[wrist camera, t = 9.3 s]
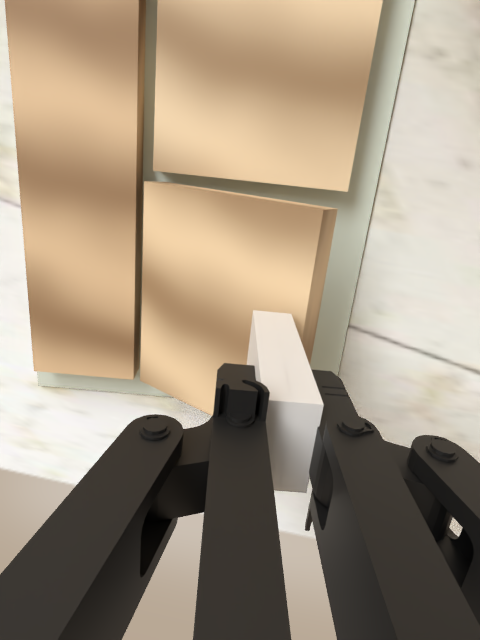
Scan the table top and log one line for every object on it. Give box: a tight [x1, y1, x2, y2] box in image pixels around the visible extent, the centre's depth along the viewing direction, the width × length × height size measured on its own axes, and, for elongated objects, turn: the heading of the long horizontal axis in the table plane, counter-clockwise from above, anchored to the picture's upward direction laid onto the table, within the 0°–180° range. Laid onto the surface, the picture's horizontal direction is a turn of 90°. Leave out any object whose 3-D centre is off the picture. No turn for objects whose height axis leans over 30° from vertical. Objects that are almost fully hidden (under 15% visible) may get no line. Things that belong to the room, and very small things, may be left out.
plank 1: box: [153, 0, 383, 192], centre depth 18 cm, size 10×9×1 cm
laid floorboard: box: [5, 0, 146, 380], centre depth 20 cm, size 22×5×1 cm, turn 174°
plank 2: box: [140, 181, 338, 416], centre depth 20 cm, size 10×9×1 cm
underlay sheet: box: [37, 0, 415, 397], centre depth 21 cm, size 26×18×1 cm
